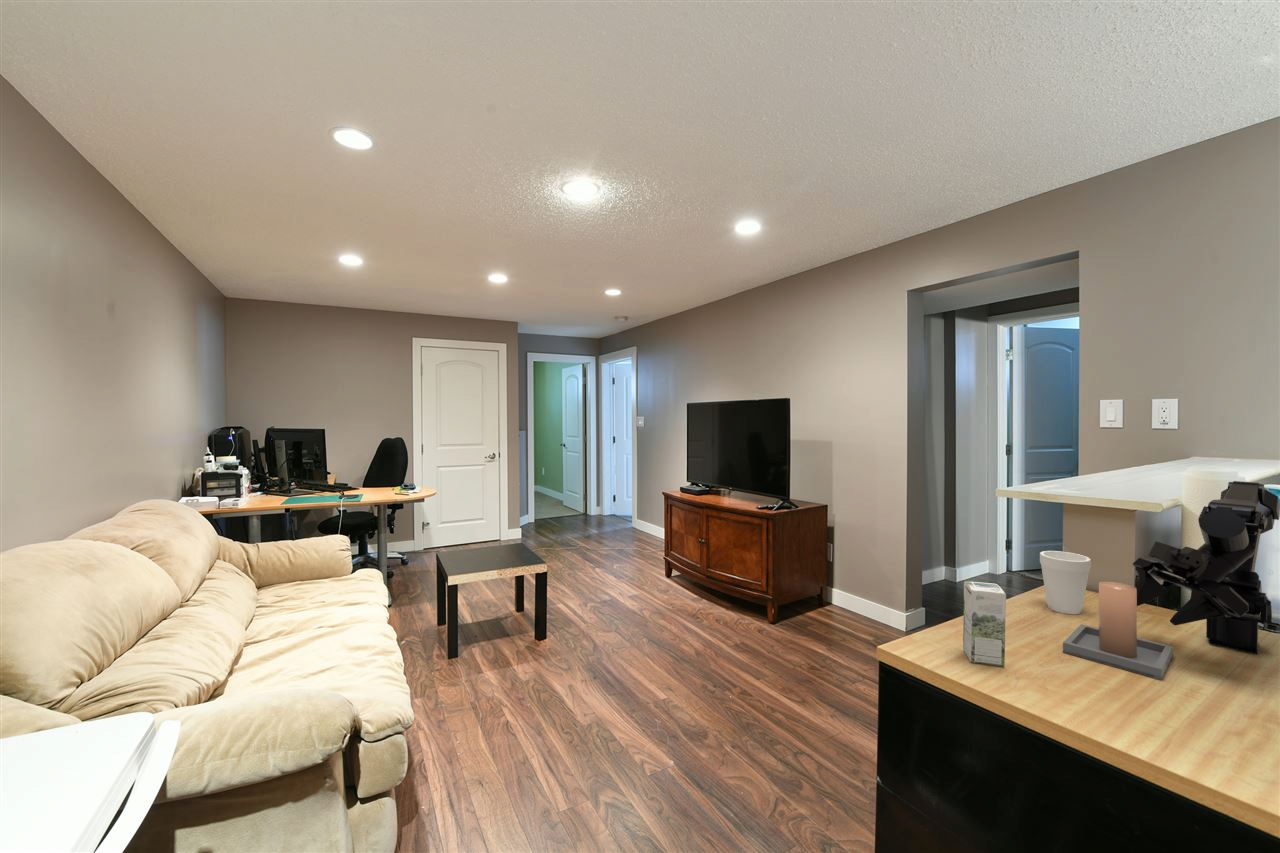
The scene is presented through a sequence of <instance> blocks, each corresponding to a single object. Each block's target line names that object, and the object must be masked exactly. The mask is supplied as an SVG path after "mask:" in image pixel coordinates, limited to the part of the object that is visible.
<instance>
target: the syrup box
mask: <svg viewBox="0 0 1280 853" xmlns="http://www.w3.org/2000/svg"><path fill="white" fill-rule="evenodd" d="M1006 610H1007V594H1006V593H1005V591H1004V590H1003V589H1002V587H1001V586H999V585H998V584H997V583H991V582H990V583H989V582H982V581H981V582H980V581H979V582H978V581H969V580H965V581H963V631H962V632H963V633H962V634H963V635H962V636H963V637H962V641H963V642H962V643H963V644H962V649H963V651H964V653H965V655H966V656H967V659H969V661H970V663H972V664H973V663H974V664H981V665H986V666H988V665H989V666H996V667H1005V665H1006V663H1005V662H1006V657H1005V655H1006V617H1007V615H1006V614H1007V612H1006Z"/></svg>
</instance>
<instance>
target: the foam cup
mask: <svg viewBox="0 0 1280 853" xmlns="http://www.w3.org/2000/svg"><path fill="white" fill-rule="evenodd" d="M1091 562H1092V561H1091V558H1090V557H1088V556H1086V555H1082V554H1078V553H1074V552H1068V551H1060V550H1045V551H1044V550H1043V551H1041V552H1039V563H1040V565H1041V572H1042V578H1043V586H1044V593H1045V600H1046V604H1047V608H1048V609H1049V608H1050V610H1051V611H1053V612H1057V613H1061V614H1066V615H1080V614H1081V613H1082V610H1083V608H1084V607H1083V605H1084V600H1085V596H1086V589H1087V585H1088V580H1089V579H1088V578H1089V574H1090V570H1091V567H1092V566H1091V564H1092V563H1091Z"/></svg>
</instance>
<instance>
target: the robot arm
mask: <svg viewBox="0 0 1280 853" xmlns="http://www.w3.org/2000/svg"><path fill="white" fill-rule="evenodd" d="M1197 520H1198V526H1199V529H1200V532H1201V535H1202V538H1203V542H1204V543H1203V544H1202V545H1200V547H1198V548H1197V549H1195V548H1192V547H1189V546H1184V547H1182V548H1178V547H1175V546H1173V545H1169V544H1166V543H1162V542H1159V541H1154V542H1153V545H1152V546H1151V548H1150V550H1149V551H1148V554H1147V556H1148V557H1151V558H1154V559H1155V558H1156V559H1158V560H1160V561H1162V562H1165V564H1164V565H1165V566H1164V565H1163V564H1162V563H1161V562H1160V561H1157V560H1154V559H1151V558H1147V557H1139V558H1137V559H1136V560H1135V561H1134V562H1133V563H1132V566H1133V567H1134V571H1135V572H1136V573H1137V574H1138V583H1137V585H1136V588H1137V607H1139V606H1142V605H1144V604H1145V603H1146V604H1147V603H1148V602H1150V601H1152V600H1154V599H1157V598H1158V597H1161V596H1163V595H1164V594H1167V593H1168V592H1169V590H1167V589H1172V588H1174V587H1175V586H1176V587H1177V586H1178V587H1180V588H1183V589H1185V590H1189V591H1190V598H1189V600H1188V601H1187V602H1186V603H1185V604H1184V605H1183V606H1181V607H1180V608H1179V609H1178V610H1177V611H1176V612H1175V613H1174V614H1173V615H1172V617H1170V619H1169V622H1170V623H1171V624H1172V625H1174V626H1179V625H1184V624H1189V623H1193V622H1194V623H1195V622H1198V621H1199V622H1200V621H1204V620H1206V627H1205V628H1206V630H1205V631H1206V632H1205V633H1206V635H1205V637H1206V638H1207V639H1208V644H1210V645H1212V646H1213V645H1214V646H1218V647H1222V648H1227V649H1230V650H1235V651H1240V652H1243V653H1247V654H1248V653H1249V654H1252V655H1259V649H1260V643H1259V624H1261V625H1266V624H1272V623H1273V608H1272V601H1271V600H1270V599H1269V598H1268V596H1267V592H1262V581H1261V580H1260V575H1259V573H1258V572H1256V571H1255V570H1256V569H1255V568H1256V564H1257V559H1258V558H1257V556H1258V551H1259V545H1260V540H1261V535H1262V534H1264V533H1266V532H1269V531H1271V530H1274V525H1275V521H1276V520H1277V521H1279V520H1280V499H1279V496H1278V495H1277V494H1275V493H1273V492H1270V491H1269V490H1267V489H1265V484H1262V483H1260V482H1256V481H1255V482H1253V481H1238V480H1234V481H1228V484H1227V488H1226V489H1224V490H1223V491H1221V492H1220V497H1219V499H1212V500H1210V501H1209V502H1208V503H1207V506H1205V505H1204V506H1203V508H1202V510H1201V512H1200V514H1199V515H1198V519H1197ZM1169 570H1171V571H1172V572H1171V571H1169Z"/></svg>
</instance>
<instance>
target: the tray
mask: <svg viewBox="0 0 1280 853" xmlns="http://www.w3.org/2000/svg"><path fill="white" fill-rule="evenodd" d="M1062 653H1063V654H1067V655H1071V656H1074V657H1076V658H1077V657H1078V658H1082V659H1085V660H1089V661H1092V662H1095V663H1098V664H1103V665H1106V666H1110V667H1114V668H1117V669H1120V670H1124V671H1128V672H1129V673H1130V672H1132V673H1133V674H1138V675H1142V676H1143V677H1144V676H1146V677H1149V678H1152V679H1156V680H1159V681H1162V680H1163V678H1164V676H1165V674H1166V672H1167V670H1168V669H1169V666H1170V664H1171V661H1172V660H1173V657H1174V645H1173V646H1172V645H1168V644H1165V643H1161V642H1156V641H1152V640H1149V639H1143V638H1140V637H1137V656H1136V657H1134V658H1126V657H1122V656H1118V655H1114V654H1110V653H1107V652H1104V651H1102V650H1101V649H1100V648H1099V627H1095V626H1092V625H1086V624H1082V623H1080V624H1079V626H1077V627H1076V629H1075V630H1074V631H1072V633H1071V634H1070V635H1069V636H1067V638H1066V639H1065V640H1064V641H1063V642H1062Z"/></svg>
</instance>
